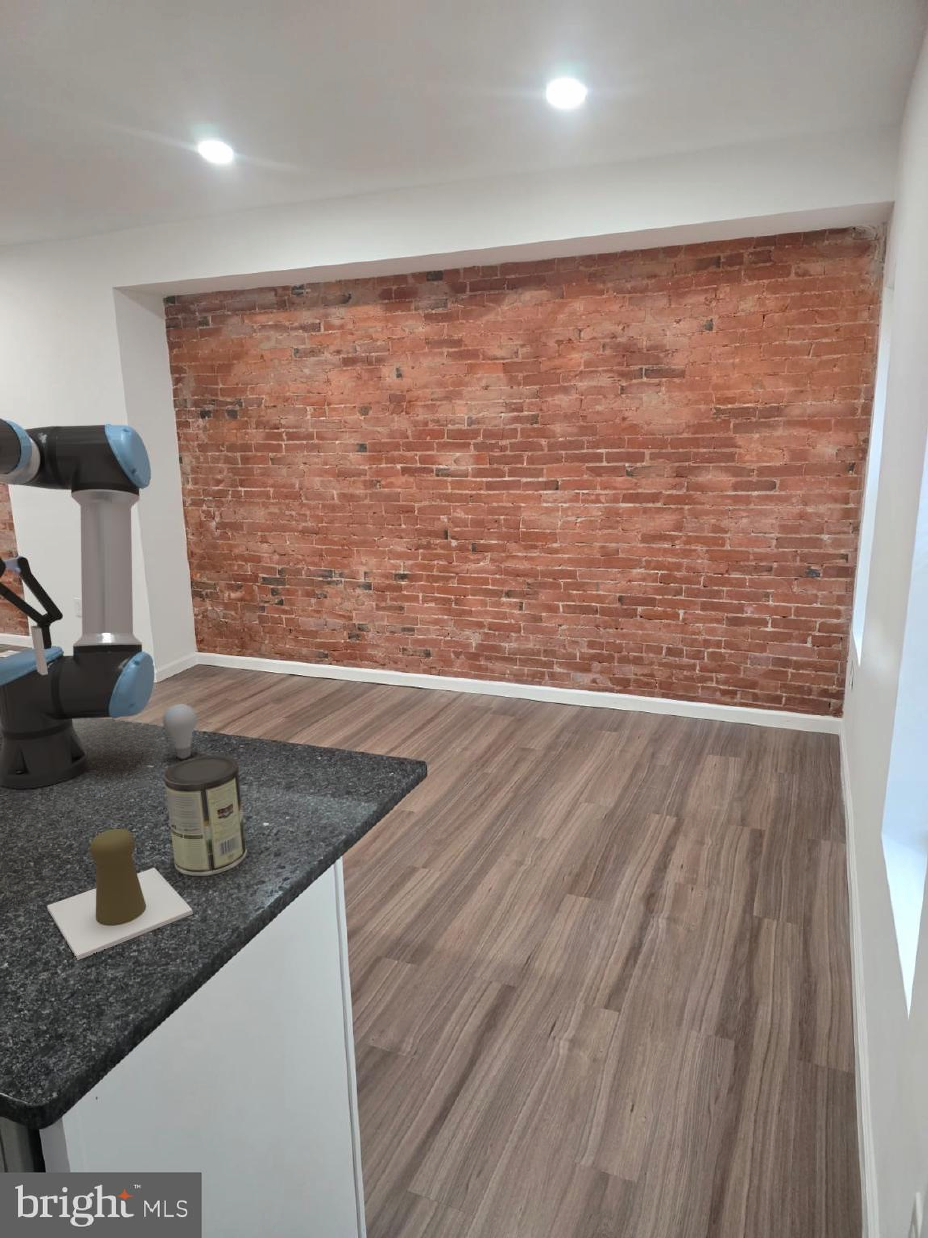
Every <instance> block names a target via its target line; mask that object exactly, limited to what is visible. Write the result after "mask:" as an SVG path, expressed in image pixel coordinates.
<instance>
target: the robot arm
mask: <svg viewBox="0 0 928 1238" xmlns="http://www.w3.org/2000/svg"><path fill="white" fill-rule="evenodd" d="M151 478H152V470H151V464H150V458H149V455H148V451H147V448H146V446H145V444H144V441H143V439H142V437H141V435H140V434H139V432H137V430H136V429H134V428H133V427H131V426H129V425H124V424H123V425H122V424H111V423H106V424H97V425H96V424H94V425H93V424H92V425H89V424H88V425H51V426H42V427H34V428H25V429H24V428H23V427H22V426H21V425H19V424H18V423H17V422H13V421H10V420H7V419H3V418H1V417H0V482H1V483H3V484H6V485H13V486H23V487H25V486H26V487H31V488H33V487H34V488H40V489H48V490H59V491H60V490H61V491H62V490H63V491H67V490H68V491H70V497H71V498H72V499H73V500H74V501H75V502H76V503H78V505H79V507H80V562H81V563H80V565H81V566H80V567H81V569H80V571H81V573H80V574H81V575H80V576H81V577H80V578H81V636H80V637H79V639H78V640H77V641H75V642H74V643H73V645H72V654H73V655H64V654H65V651H64V650H63V648H62V647H61V646H58V645H57V646H56V645H53V643H52V637H51V629H50V626H51V625H52V624H53V623H55V622H57V621H60V620H62V619H63V617H64V614H63V612H62V611H61V610H60V608H59V607H58V606H57V604H55V602H54V601H53V600H52V598H51V597H50V595H49V594H48V593H47V591H46V590H45V589H44V588H43V585H42V584H40V582H39V581H38V580H37V578H36V577H35V576H34V574H33V573H32V571H31V567H30V563H29V560H28V558H27V557H24V556H23V555H15V557H13V558H9V559H5V560H3V558H2V557H1V556H0V579H1V578H2V576H3V575H4V574H5V571H6V569H9V570H10V571H11V572H12V573H13V574H15V575H18V576H19V578H20V579H21V580H22V582H23V583H24V584H25V585H26V587H27V588H28V590H29V591H30V592H31V593H32V595H33V596H34V597H35V599H36V600H37V601H38V603H39V604H40V605H41V606H42V608H43V609H44V610H45V612H46V613H44V614H41V613H40V612H39V611H38V610H36V609H35V608H34V607H33V606H32V605H30V604H29V603H28V602H26V601H25V600H24V599H23V598H22V597H20V596H19V595H18V594H16V593H15V592H14V591H12V590H11V589H10V588H9V587H7V586H6V585H5V584H4V583H2V582H1V581H0V596H1V597H3V599H5V600H7V601H8V602H9V603H10V604H12V605H13V606H14V607H15V608H17V609H18V610H19V611H21V612H22V613H23V614H24V615H26V616H27V617H28V618H30V619H31V620H32V621H34V623H36V625H30V631H31V637H32V646H33V648H31V649H27V650H23V651H20V652H16V653H13V654H10V655H8V656H5V657H2V658H1V659H0V729H1V730H0V731H1V737H2V743H1V747H0V785H1V786H3V787H4V788H5V787H6V788H9V789H17V790H18V789H24V790H25V789H33V788H34V789H36V788H42V787H47V786H50V785H54V784H58V783H59V784H60V783H62V782H66V781H67V780H70V779H72V778H75V777H77V776H79V775H80V774H82V773H83V772H84V771H86V770H87V768H89V763H90V762H89V757H88V756H89V755H88V751H87V749H86V747H85V746H84V744H83V742H82V740H81V739H80V736H79V735H78V733H77V731H76V730H75V728H74V723H73V720H79V719H80V720H82V719H105V718H106V719H107V718H112V719H117V718H118V719H119V718H123V717H133V716H136V715H139V714H140V713H142V712H143V710H144V709H145V708H146V707H147V705H148V703H149V701H150V698H151V696H152V693H153V688H154V683H155V682H154V681H155V665H154V661H153V658H152V656H151V655H150V654H149V653H147V652H146V651H143V643H142V642H141V641H140V640H139V639H138V638H137V637H136V636H135V635H134V614H133V612H134V611H133V610H134V609H133V603H134V602H133V553H132V552H133V551H132V549H133V548H132V545H133V544H132V507H133V506H135V505H136V504H137V503H138V502H140V490H141V489H142V490H144V489H145V488H148V487H149V486H150V484H151Z"/></svg>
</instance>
